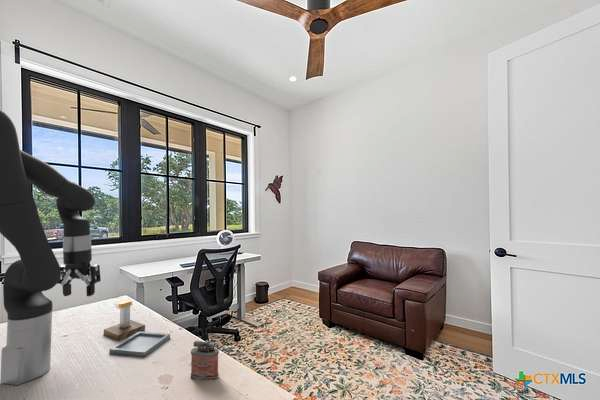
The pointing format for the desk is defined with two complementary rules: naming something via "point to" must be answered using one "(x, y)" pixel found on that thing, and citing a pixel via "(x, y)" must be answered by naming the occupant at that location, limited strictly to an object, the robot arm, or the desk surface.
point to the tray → (140, 344)
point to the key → (125, 314)
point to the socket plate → (120, 334)
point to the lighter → (204, 361)
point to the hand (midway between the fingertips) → (79, 295)
